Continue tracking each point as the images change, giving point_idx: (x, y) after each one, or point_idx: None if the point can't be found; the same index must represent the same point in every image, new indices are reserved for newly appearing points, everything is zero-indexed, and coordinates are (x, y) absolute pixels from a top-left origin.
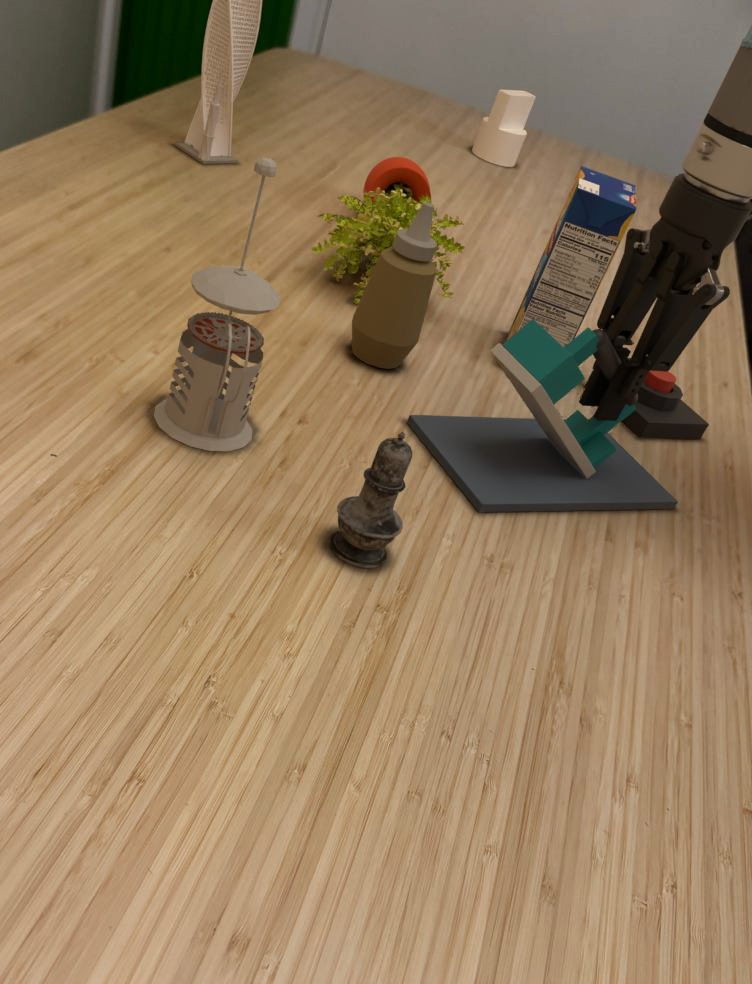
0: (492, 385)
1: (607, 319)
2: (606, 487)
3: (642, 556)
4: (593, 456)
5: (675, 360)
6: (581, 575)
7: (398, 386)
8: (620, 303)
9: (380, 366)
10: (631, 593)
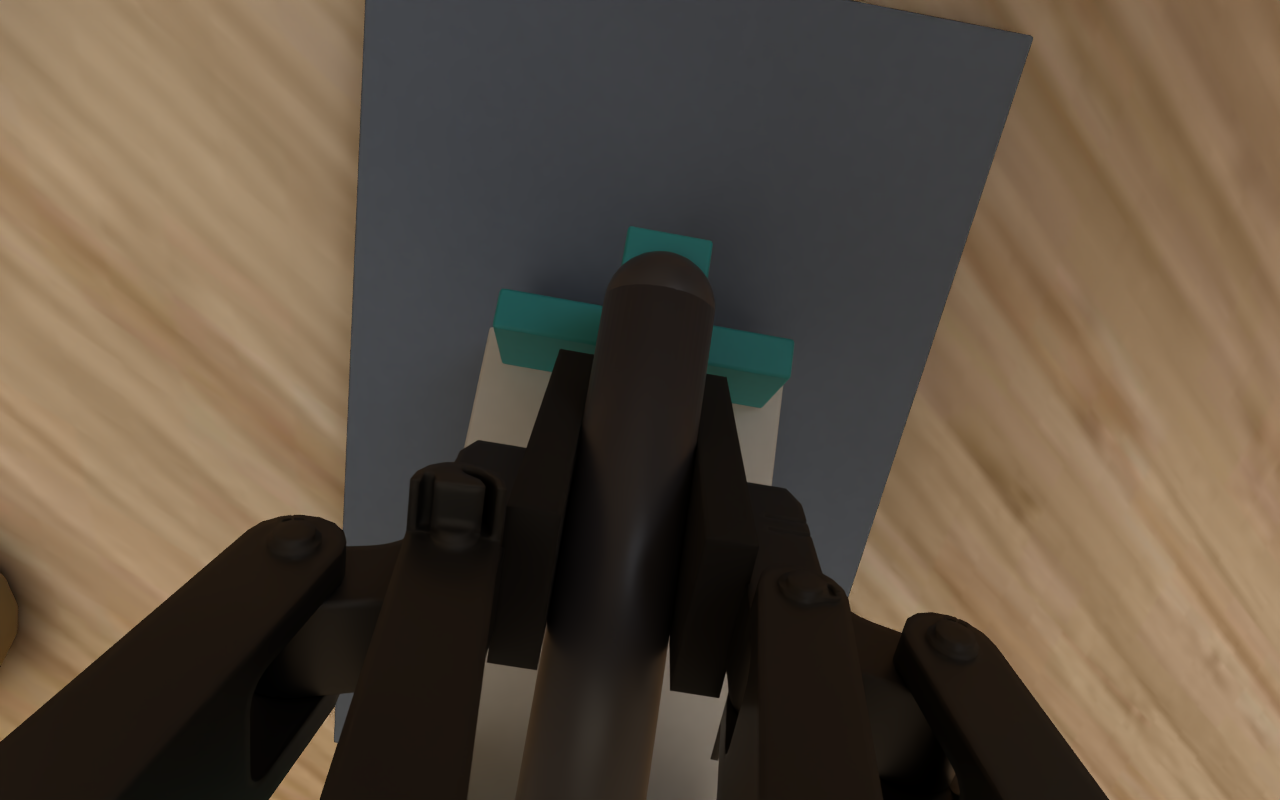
0: (47, 216)
1: (312, 735)
2: (836, 338)
3: (1138, 452)
4: (745, 397)
5: (1036, 710)
6: (1092, 704)
7: (124, 622)
8: (225, 788)
9: (14, 634)
10: (1223, 624)
